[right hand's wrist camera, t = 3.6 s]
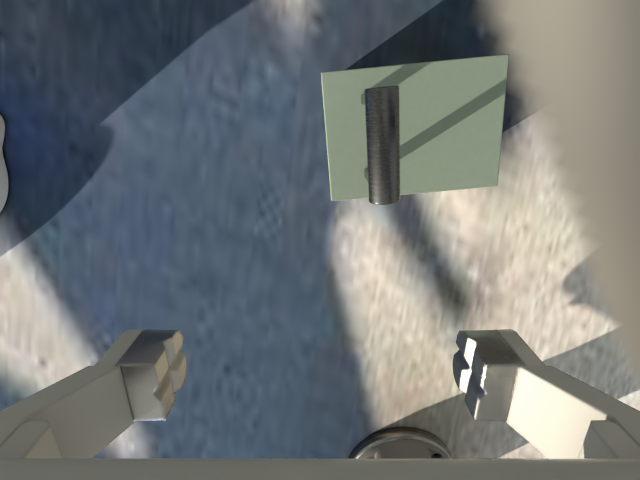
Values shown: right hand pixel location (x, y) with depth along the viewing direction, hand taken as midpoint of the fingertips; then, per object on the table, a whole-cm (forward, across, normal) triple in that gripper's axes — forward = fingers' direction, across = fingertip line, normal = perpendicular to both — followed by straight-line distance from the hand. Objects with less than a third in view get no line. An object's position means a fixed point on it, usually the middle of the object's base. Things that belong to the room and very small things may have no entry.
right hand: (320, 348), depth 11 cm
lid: (+19, +7, +5) cm, 21 cm away
